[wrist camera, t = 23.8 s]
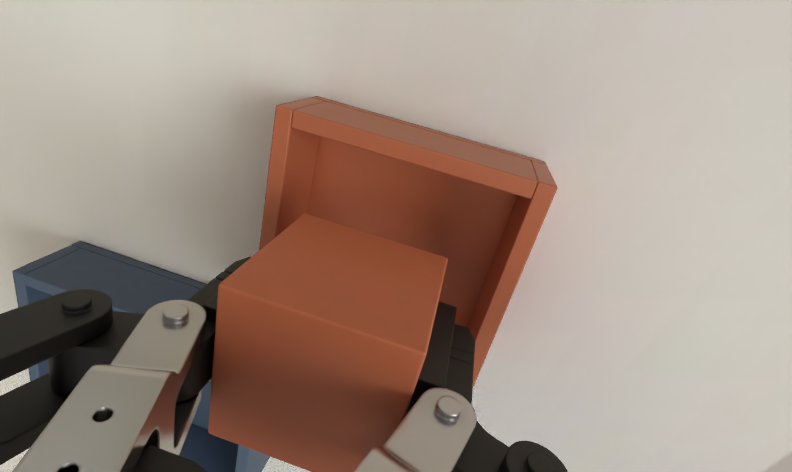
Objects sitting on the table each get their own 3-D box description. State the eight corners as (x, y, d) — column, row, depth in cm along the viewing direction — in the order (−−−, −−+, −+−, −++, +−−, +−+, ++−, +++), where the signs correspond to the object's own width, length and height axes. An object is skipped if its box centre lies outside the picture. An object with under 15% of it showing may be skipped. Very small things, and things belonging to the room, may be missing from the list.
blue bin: (296, 314, 21) (261, 359, 18) (272, 452, 26) (241, 508, 22) (79, 240, 22) (11, 270, 19) (91, 384, 27) (37, 427, 24)
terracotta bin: (545, 162, 16) (558, 187, 13) (470, 350, 20) (465, 405, 17) (316, 95, 17) (275, 104, 14) (286, 288, 21) (248, 330, 18)
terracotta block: (448, 257, 12) (426, 354, 8) (410, 372, 14) (377, 498, 10) (304, 212, 13) (216, 283, 9) (285, 330, 15) (206, 434, 11)
